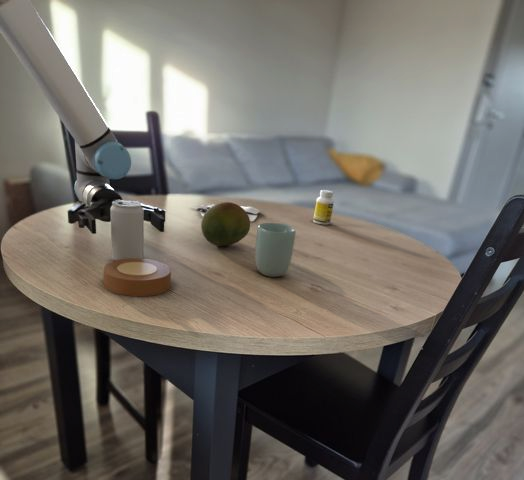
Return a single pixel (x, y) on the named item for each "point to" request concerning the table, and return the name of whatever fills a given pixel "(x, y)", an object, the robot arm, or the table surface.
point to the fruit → (225, 224)
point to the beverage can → (127, 230)
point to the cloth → (249, 210)
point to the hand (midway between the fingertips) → (129, 226)
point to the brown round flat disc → (137, 277)
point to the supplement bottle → (324, 208)
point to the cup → (274, 248)
